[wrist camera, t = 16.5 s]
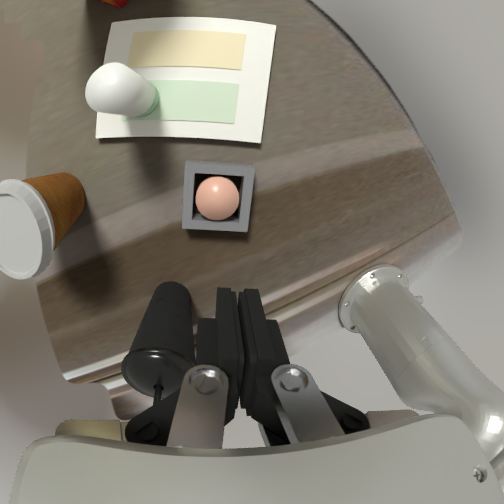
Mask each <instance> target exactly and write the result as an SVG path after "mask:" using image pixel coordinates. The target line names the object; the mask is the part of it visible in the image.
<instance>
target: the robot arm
mask: <svg viewBox="0 0 504 504" xmlns="http://www.w3.org/2000/svg"><path fill="white" fill-rule="evenodd" d="M422 303H423V297H422V296H414V295H413V294H412V293H411V292H410V291H409V290H408V280H407V277H406V275H405V274H404V272H403V271H402V270H401V269H399V268H398V267H396V266H394V265H391V264H382V265H377V266H374V267H371V268H369V269H368V270H366V271H364V272H363V273H361V274H360V275H359V276H357V277H356V278H355V279H354V280H353V281H352V282H351V283H350V285H349V286H348V287H347V288H346V290H345V292H344V293H343V295H342V298H341V300H340V303H339V317H340V320H341V322H342V324H343V325H344V327H345V328H346V329H348V330H349V331H351V332H354V333H360V334H361V335H362V337H363V338H364V340H365V341H366V343H367V345H368V346H369V348H370V350H371V351H372V353H373V354H374V356H375V358H376V359H377V361H378V363H379V364H380V366H381V367H382V369H383V371H384V373H385V374H386V376H387V377H388V379H389V381H390V382H391V384H392V386H393V388H394V389H395V391H396V393H397V395H398V396H399V398H400V399H401V401H402V402H403V403H405V404H406V405H407V406H409V407H411V408H413V409H418V410H424V411H432V412H434V413H435V414H426V415H420V416H419V415H418V414H417V413H416V412H414V411H412V410H391V411H368V412H367V413H366V414H364V413H362V412H361V411H359V410H358V409H355V408H353V407H351V406H349V405H347V404H345V403H343V402H341V401H339V400H337V399H335V398H333V397H332V396H330V395H328V394H326V393H324V392H322V391H320V390H319V388H318V386H317V384H316V383H315V381H314V379H313V377H312V376H311V374H310V373H309V372H308V371H307V370H306V369H304V368H303V367H301V366H298V365H294V364H290V362H289V358H288V355H287V352H286V349H285V345H284V342H283V339H282V336H281V332H280V329H279V326H278V323H277V321H276V320H266V318H265V314H264V310H263V306H262V302H261V299H260V295H259V291H258V289H244V292H239V297H238V305H237V298H236V292H233V291H231V288H220V287H217V300H216V317H215V318H198V330H197V352H196V366H195V367H193V368H191V369H190V370H189V371H187V372H186V374H185V376H184V379H183V383H182V387H181V388H179V389H178V390H176V391H175V392H173V393H172V394H170V395H169V396H167V397H166V398H164V399H162V400H161V401H159V402H158V403H156V404H155V405H153V406H151V407H150V408H148V409H147V410H145V411H143V412H142V413H140V414H139V415H137V416H135V417H134V418H132V419H131V420H130V421H129V422H120V420H72V419H71V420H65V421H63V422H61V423H60V424H59V425H58V426H57V428H56V432H55V436H47V437H43V438H40V439H37V440H35V441H33V442H32V443H31V444H30V445H29V446H28V447H27V448H26V450H25V452H24V453H23V455H22V457H21V459H20V462H19V464H18V467H17V470H16V473H15V477H14V481H13V485H12V489H11V494H10V500H9V504H504V392H503V391H502V390H500V389H499V388H498V387H497V386H496V385H495V384H494V383H493V382H492V381H490V380H489V379H488V378H487V377H486V376H485V375H484V374H483V373H482V372H481V371H480V370H479V369H478V368H477V367H476V366H475V364H474V363H473V362H472V361H471V360H470V359H469V358H468V357H467V356H466V354H465V353H464V352H463V351H462V350H461V349H460V347H459V346H458V345H457V344H456V343H455V342H454V341H453V339H452V338H451V337H450V336H449V335H448V334H447V333H446V331H445V330H444V329H443V328H442V327H441V326H440V325H439V324H438V322H437V321H436V320H435V319H434V318H433V317H432V316H431V315H430V314H429V313H428V312H427V310H426V309H425V308H424V307H423V306H422V305H421V304H422ZM239 397H240V405H241V408H243V409H244V408H245V409H246V413H247V416H251V418H253V419H254V420H256V421H257V422H258V425H259V430H260V432H261V435H262V438H263V440H264V443H265V446H266V447H258V448H237V449H222V444H223V435H224V426H225V425H226V424H228V423H229V422H230V421H231V420H232V419H233V418H234V414H235V409H237V407H238V401H239Z"/></svg>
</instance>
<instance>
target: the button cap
mask: <svg viewBox="0 0 504 504" xmlns="http://www.w3.org/2000/svg"><path fill="white" fill-rule="evenodd" d="M238 204H239V193H238V191H237V188H236V185H235V184H234V182H233V181H232V180H231V179H230V178H229V177H227V176H225V175H220V174H213V175H210V176H208V177H206V178H205V179H203V180H202V181H201V183H200V184H199V186H198V189H197V193H196V205H197V208H198V210H199V211H200V213H201V214H202V215H203V216H205V217H207V218H209V219H212V220H222V219H225V218H228V217H229V216H231V215H232V214H233V213H234V212H235V211H236V209H237V207H238Z"/></svg>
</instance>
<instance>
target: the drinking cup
mask: <svg viewBox="0 0 504 504" xmlns="http://www.w3.org/2000/svg"><path fill="white" fill-rule="evenodd" d="M195 366H196V360H195V350H194V340H193V329H192V316H191V302H190V294H189V292H188V290H187V289H186V288H185V287H184V286H183V285H181V284H179V283H177V282H164V283H162V284H160V285H159V286H158V287H157V288H156V290H155V292H154V294H153V297H152V299H151V301H150V303H149V306H148V308H147V310H146V312H145V315H144V317H143V319H142V322H141V324H140V326H139V329H138V331H137V334H136V336H135V339H134V341H133V343H132V346H131V348H130V351H129V353H128V354H127V355H126V356H125V358H124V359H123V361H122V365H121V371H122V375H123V377H124V379H125V380H126V382H127V383H128V384H129V385H130V386H131V387H132V388H134V389H135V390H137V391H138V392H140V393H142V394H144V395H147V396H150V397H153V398H154V401H153V405H155V404H156V403H158V402H159V401H161V399H164V398H166V397H167V396H169V395H170V394H172V393H173V392H175V391H176V390H178V389H179V388H181V387H182V383H183V379H184V376H185V374H186V372H187V371H189V370H190V369H191V368H193V367H195Z"/></svg>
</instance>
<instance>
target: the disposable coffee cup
mask: <svg viewBox="0 0 504 504" xmlns="http://www.w3.org/2000/svg"><path fill="white" fill-rule="evenodd" d="M84 206H85V194H84V190H83V187H82V185H81V183H80V182H79V180H78V179H77V178H76V177H74V176H73V175H71V174H69V173H58V174H52V175H46V176H41V177H35V178H31V179H26V180H21V181H20V180H16V179H8V180H4V181H2V182H0V270H1V271H2V272H4V273H5V274H6V275H8V276H10V277H12V278H15V279H27V278H29V277H34V276H37V275H39V274H41V273H42V272H43V271H44V270H45V269H46V268H47V266H48V265H49V263H50V261H51V258H52V255H53V251H54V250H55V248H56V247H57V245H58V244H59V242H60V241H61V240H62V238H63V237H64V236H65V234H66V233H67V232H68V230H69V229H70V228H71V226H72V225H73V224H74V222H75V221H76V220H77V219H78V217H79V216H80V215H81V213H82V211H83V209H84Z"/></svg>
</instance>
